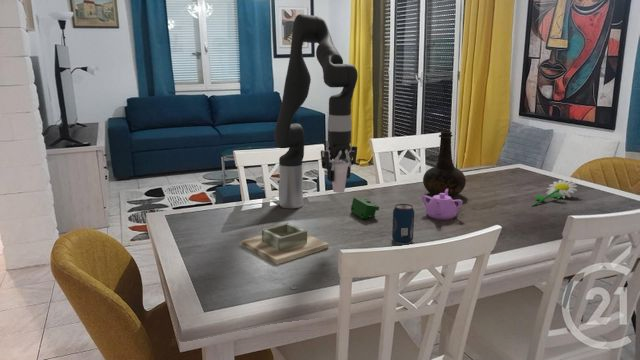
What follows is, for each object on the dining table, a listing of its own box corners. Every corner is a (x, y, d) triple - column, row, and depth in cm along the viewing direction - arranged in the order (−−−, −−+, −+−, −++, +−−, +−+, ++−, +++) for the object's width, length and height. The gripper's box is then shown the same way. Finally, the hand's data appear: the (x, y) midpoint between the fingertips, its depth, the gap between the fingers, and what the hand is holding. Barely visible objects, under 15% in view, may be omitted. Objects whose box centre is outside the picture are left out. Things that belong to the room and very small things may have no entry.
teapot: (446, 209, 201) (447, 187, 199) (464, 220, 188) (466, 197, 186) (418, 211, 198) (420, 190, 196) (436, 223, 185) (437, 200, 183)
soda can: (390, 236, 172) (392, 203, 169) (411, 237, 171) (413, 203, 168) (393, 244, 165) (394, 209, 162) (414, 244, 165) (416, 209, 162)
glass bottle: (469, 193, 223) (474, 130, 216) (456, 203, 209) (461, 136, 202) (431, 187, 233) (434, 126, 226) (416, 196, 218) (419, 132, 211)
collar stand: (241, 245, 165) (240, 229, 163) (291, 231, 177) (290, 216, 176) (277, 264, 150) (276, 247, 148) (328, 247, 162) (328, 231, 161)
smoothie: (328, 188, 169) (328, 147, 165) (347, 188, 169) (348, 147, 166) (330, 194, 163) (330, 151, 159) (349, 193, 163) (350, 151, 160)
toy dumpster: (372, 228, 193) (382, 210, 188) (358, 226, 190) (368, 208, 186) (361, 208, 202) (371, 190, 197) (348, 206, 199) (358, 188, 195)
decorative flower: (547, 215, 201) (583, 192, 218) (547, 204, 199) (583, 181, 216) (517, 209, 210) (554, 188, 228) (517, 198, 209) (553, 177, 226)
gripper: (348, 125, 168) (347, 174, 172) (314, 129, 159) (314, 180, 163) (364, 127, 162) (362, 178, 167) (330, 132, 153) (329, 185, 158)
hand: (338, 179), depth 165 cm, fingers closed on smoothie, 6 cm apart
